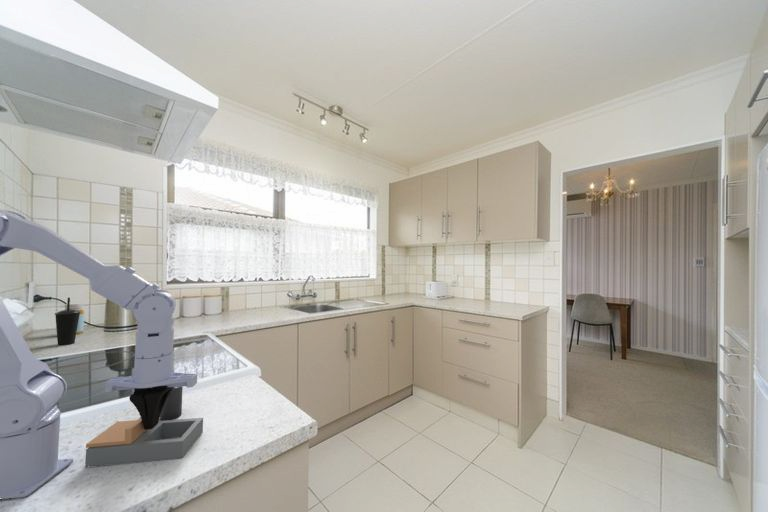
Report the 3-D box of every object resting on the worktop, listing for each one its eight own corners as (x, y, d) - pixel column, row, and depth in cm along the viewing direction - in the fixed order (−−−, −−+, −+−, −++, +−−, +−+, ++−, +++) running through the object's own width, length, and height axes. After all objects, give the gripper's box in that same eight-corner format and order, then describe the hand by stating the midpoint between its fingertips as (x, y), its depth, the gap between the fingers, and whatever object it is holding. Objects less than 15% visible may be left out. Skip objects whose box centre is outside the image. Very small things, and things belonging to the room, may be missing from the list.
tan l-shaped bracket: (85, 447, 49) (86, 432, 49) (117, 424, 56) (117, 411, 56) (130, 443, 50) (131, 428, 50) (156, 421, 57) (156, 408, 57)
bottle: (84, 331, 144) (85, 302, 145) (81, 334, 139) (83, 303, 139) (63, 333, 140) (65, 303, 140) (60, 336, 134) (62, 304, 135)
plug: (155, 421, 62) (157, 385, 63) (166, 412, 66) (167, 378, 67) (175, 420, 63) (177, 384, 63) (184, 411, 67) (186, 377, 67)
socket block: (85, 467, 48) (86, 449, 48) (119, 439, 56) (120, 423, 56) (182, 457, 51) (183, 440, 51) (202, 432, 59) (203, 417, 59)
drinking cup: (68, 341, 126) (70, 296, 126) (84, 341, 125) (86, 296, 126) (46, 346, 118) (49, 298, 119) (64, 346, 118) (67, 298, 119)
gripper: (205, 346, 59) (202, 412, 59) (126, 349, 57) (122, 418, 56) (188, 357, 52) (185, 432, 52) (97, 361, 50) (93, 439, 49)
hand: (151, 426), depth 54 cm, fingers closed
